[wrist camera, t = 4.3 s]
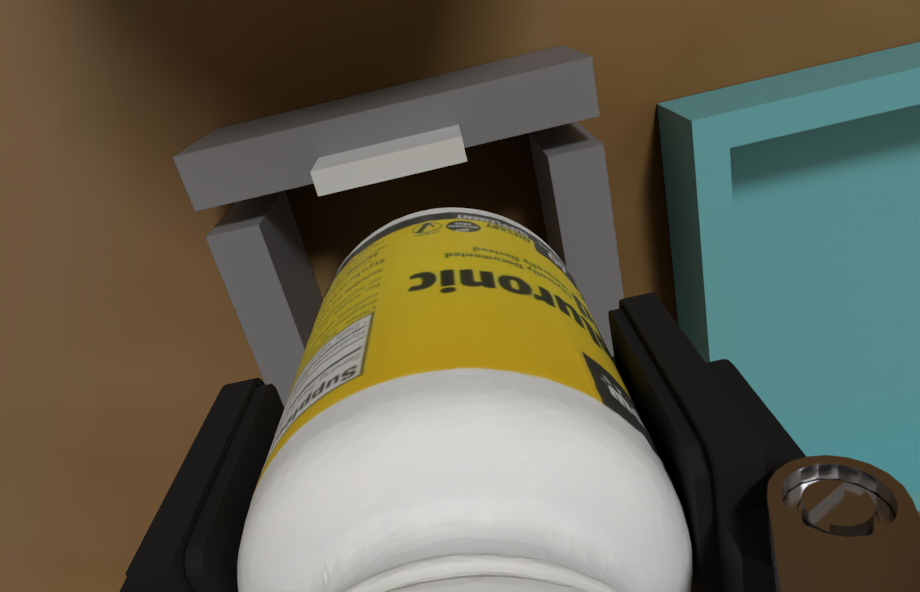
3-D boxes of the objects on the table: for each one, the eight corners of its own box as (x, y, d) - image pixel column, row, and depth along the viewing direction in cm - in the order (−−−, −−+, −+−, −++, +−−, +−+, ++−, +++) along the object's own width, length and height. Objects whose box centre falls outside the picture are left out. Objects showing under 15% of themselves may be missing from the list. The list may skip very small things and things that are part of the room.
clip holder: (563, 45, 16) (606, 62, 12) (609, 353, 20) (653, 440, 16) (213, 129, 17) (151, 171, 13) (321, 417, 20) (298, 516, 17)
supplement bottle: (632, 296, 14) (971, 823, 5) (474, 465, 16) (529, 1080, 7) (423, 141, 13) (400, 515, 4) (273, 346, 14) (14, 936, 5)
